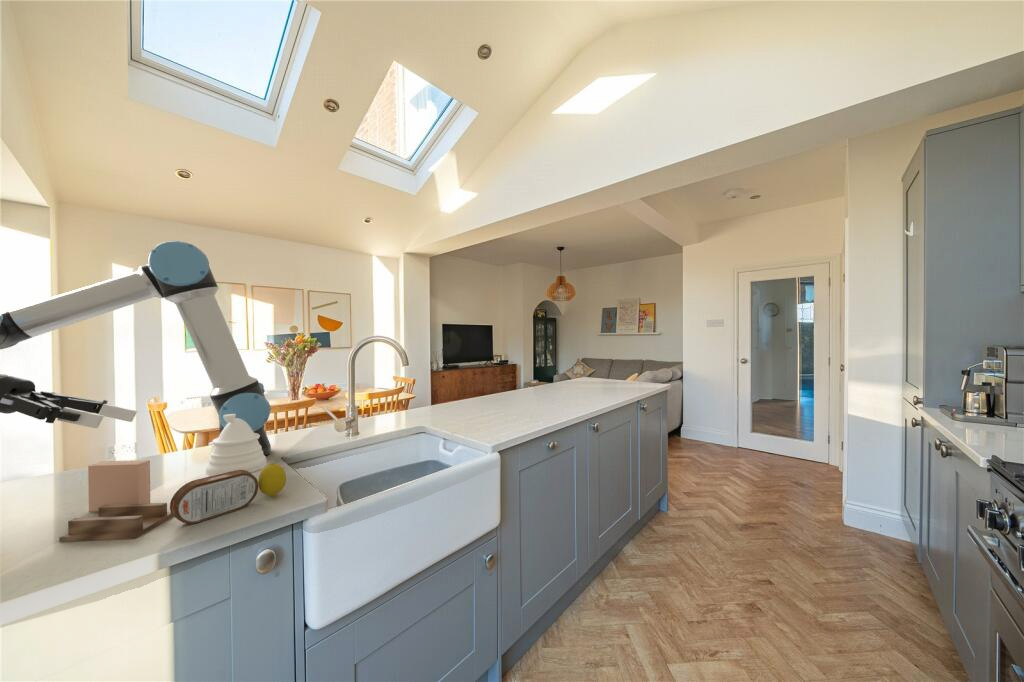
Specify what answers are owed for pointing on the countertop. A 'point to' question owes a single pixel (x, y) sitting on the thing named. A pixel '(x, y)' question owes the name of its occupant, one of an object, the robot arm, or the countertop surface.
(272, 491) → the lemon
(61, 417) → the robot arm
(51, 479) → the countertop surface
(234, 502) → the tin
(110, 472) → the tan square block
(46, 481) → the countertop surface
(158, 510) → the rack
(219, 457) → the honey pot
